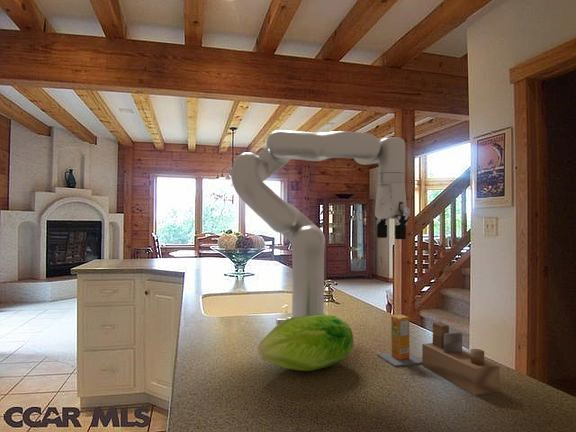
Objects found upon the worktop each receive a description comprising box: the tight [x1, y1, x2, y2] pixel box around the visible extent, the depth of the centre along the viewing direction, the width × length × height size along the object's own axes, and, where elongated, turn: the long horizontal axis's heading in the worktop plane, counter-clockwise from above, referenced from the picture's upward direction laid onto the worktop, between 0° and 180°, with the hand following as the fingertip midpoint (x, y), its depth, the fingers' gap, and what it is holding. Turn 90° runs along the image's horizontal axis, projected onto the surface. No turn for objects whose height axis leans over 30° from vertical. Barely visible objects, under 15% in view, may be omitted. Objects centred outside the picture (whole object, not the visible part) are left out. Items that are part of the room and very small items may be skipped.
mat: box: [376, 352, 422, 368], centre depth 95 cm, size 8×8×1 cm
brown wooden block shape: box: [421, 321, 501, 396], centre depth 84 cm, size 6×16×10 cm, turn 18°
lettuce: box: [257, 314, 354, 372], centre depth 88 cm, size 13×23×12 cm, turn 115°
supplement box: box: [390, 313, 411, 360], centre depth 95 cm, size 3×3×10 cm
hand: (390, 238), depth 116 cm, fingers open, 9 cm apart
